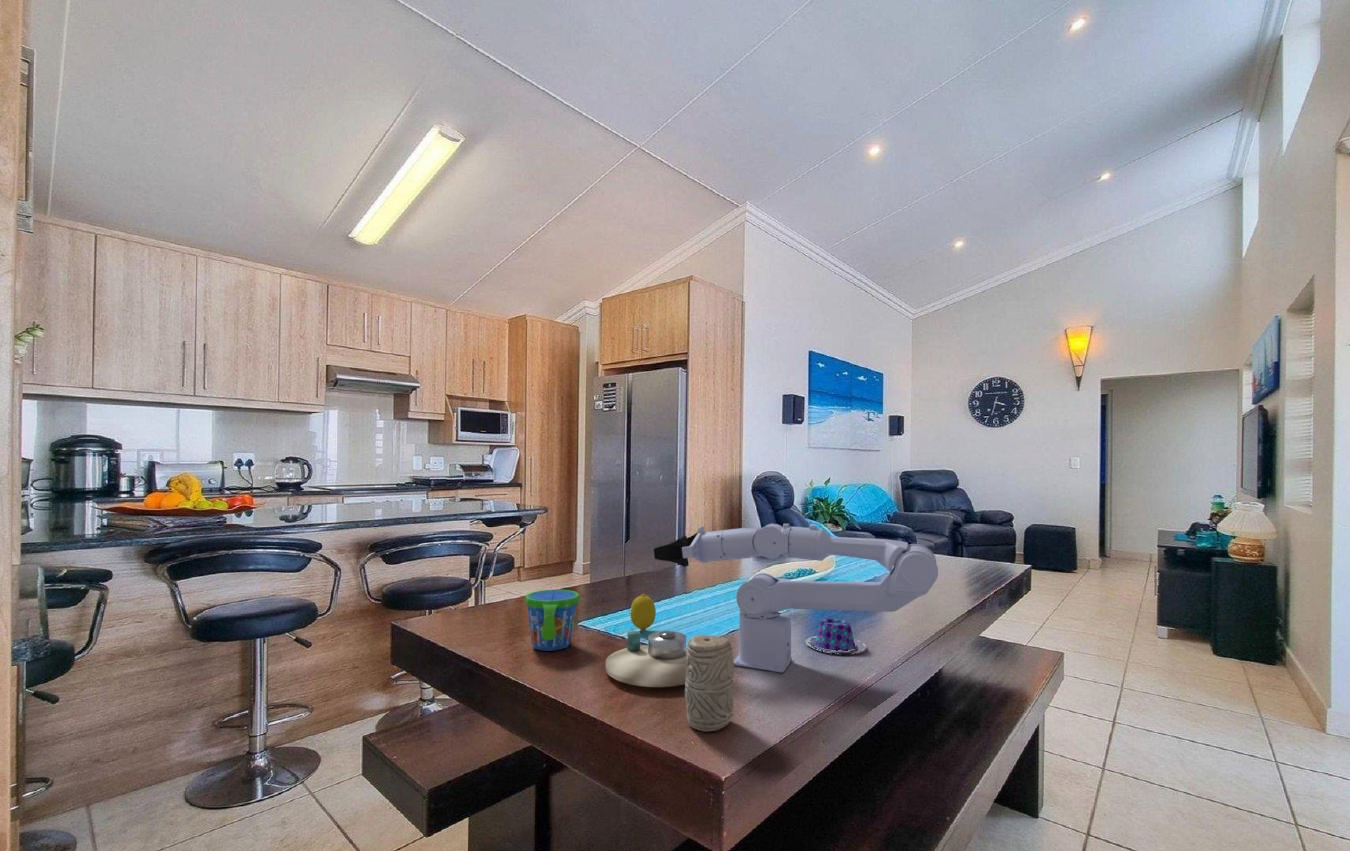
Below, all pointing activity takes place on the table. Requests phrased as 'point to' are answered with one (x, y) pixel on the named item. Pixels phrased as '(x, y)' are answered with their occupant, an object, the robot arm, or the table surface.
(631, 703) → the table surface
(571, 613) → the snack cup
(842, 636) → the polka dot fedora
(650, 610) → the lemon
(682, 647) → the cover
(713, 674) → the carving
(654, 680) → the turntable
